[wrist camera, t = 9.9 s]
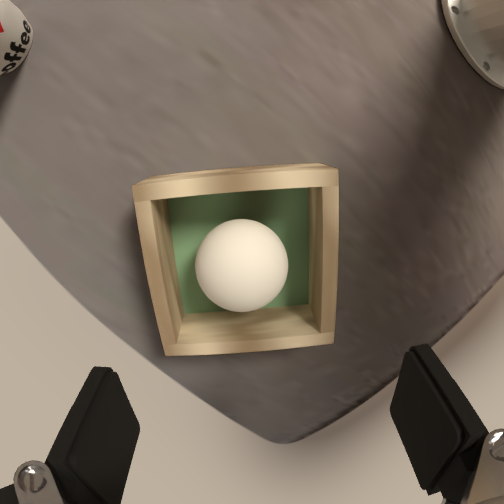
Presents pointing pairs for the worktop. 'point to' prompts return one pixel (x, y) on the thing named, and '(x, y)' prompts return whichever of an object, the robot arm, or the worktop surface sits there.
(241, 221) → the ball
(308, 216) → the wooden square tray
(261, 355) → the worktop surface
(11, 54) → the cup
